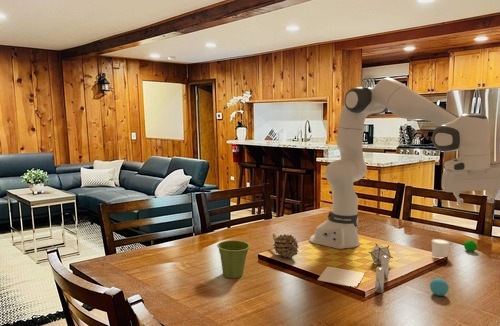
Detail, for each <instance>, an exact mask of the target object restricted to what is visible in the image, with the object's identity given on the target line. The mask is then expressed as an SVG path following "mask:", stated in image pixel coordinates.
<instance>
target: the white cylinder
mask: <svg viewBox="0 0 500 326" xmlns="http://www.w3.org/2000/svg"><path fill="white" fill-rule="evenodd" d="M450 242H451V241H448V240H446V239H439V238H433V239H431V255H432V256H435V257H447V258H448V255H449V249H450V244H451V243H450ZM432 256H431V257H432Z"/></svg>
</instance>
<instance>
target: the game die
mask: <svg viewBox="0 0 500 326" xmlns="http://www.w3.org/2000/svg"><path fill="white" fill-rule="evenodd" d="M389 247H390V245H387V246H385V245H378V244H377V243H375V246H374V248H373V249H372V250H371V251H368V253H369V254H370V255H371V259H372V261H373V262H372V265H375V264H377V265H381V256H382V255H386V256H389V261H390V260H391V259H393V258H394V257H393V256H392V255H391V252H390V249H389Z"/></svg>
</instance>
